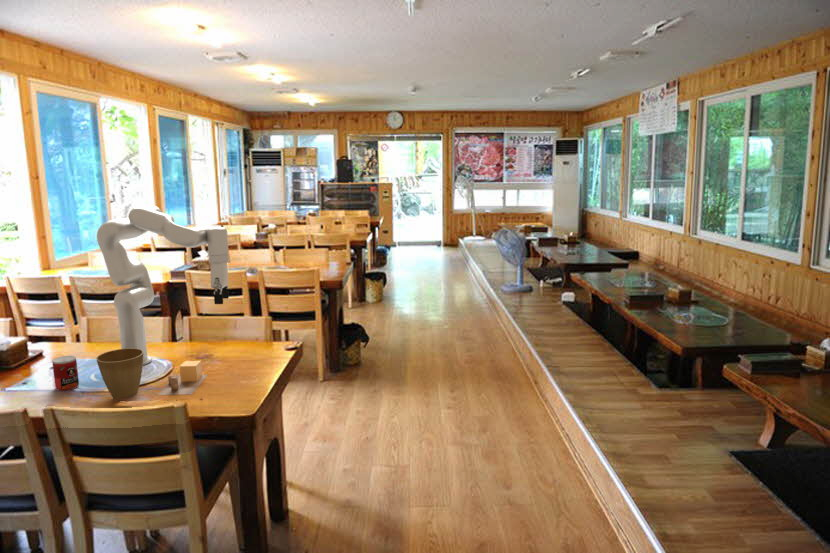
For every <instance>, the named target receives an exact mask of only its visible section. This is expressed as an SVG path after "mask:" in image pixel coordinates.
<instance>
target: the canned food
mask: <svg viewBox="0 0 830 553" xmlns="http://www.w3.org/2000/svg"><path fill="white" fill-rule="evenodd" d="M51 362H52V371H53V378H54V387H55V389H56V390H58V391H60V392H61V391H64V392H65V391H70V389H71V390H73V389H72V388H74V389H76V388H78V387H79V384H80V381H79V380H80V378H79V372H78V363H77V362H78V361H77V357H76V356H75V355H63V356H59V357H56V358H54V359H52V361H51ZM77 386H78V387H77ZM75 387H76V388H75Z"/></svg>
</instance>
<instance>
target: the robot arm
mask: <svg viewBox="0 0 830 553" xmlns="http://www.w3.org/2000/svg"><path fill="white" fill-rule="evenodd" d="M148 232H151V233H155V234H157V235H160V236H163V238H164V239H166V240H167V241H169V242H170V243H172V244H175V245H179V246H181V247H185V248H190V249H192V248H197V247H201V246H205V245H206V246H207V251H208V253H207V254H208V264H210V288H211V289H212V290H213V300H214V305H223V304H224V300H225V299H230V298H229V285H228V284H229V270H228V269H229V268H228V263H229V262H230V256H229V255H230V254H229V239H228V238H229V236H228V230H227V228H226V227H223V226H214V227H212V226H206V225H199V226H194V227H186V226H183V225H179V224H176V223H175V218H174V217H173V216H172V215H170V214H167V213H163V211H162V210H161V208H159V207H158V206H157V205H156V206H155V205H152V204H151V205H141V206H140V205H139V206H135V207H134V208H132V209H131V210H130V211H129V212H128V216H127V217H124V218H116V219H115V218H114V219H111V220H108V221H105V222H103V224H101V225H100V226H99V228H98V230H97V233H96V242H97V244H98V246H99V249H100V251H101V254H102V256H103V260H104V263H105V266H106V269H107V271H108V274H109V278H110V280H111V282H112V284H113V285H115V286H116V287H123V286H128V285H129V286H130V287H127V288H124V289H121V290H120V291H119V292H117V293H116V294H115V295H114V299H113V303H114V304H113V305H114V307H115V308H114V309H115V310H116V315H117V318H118V319H117V320H118V327H119V328H118V330H119V338H120V347H121V348H120V349H125V348H137V349H141V350H143V366H144V365H147V364H149V363H151V362H152V361H153V359H152V358H153V357H152V356H151V355H148V348H147V339H146V338H147V337H146V336H147V335H146V326H145V319H144V316H143V313H142V312H141V310H140V309H142V308H145V307H148V306H149V305H151V304H152V303H153V301H154V299H155V291H154V288H153V284H152V282H151V278H150V274H149V271H148V269H147V267H146V266H145V264H144V263H143V262H141V261H140V260H137V259H129V256H128V253H127V250H126V249H125V247H124V246H123V244H121V243H120V241H124V240H130V239H135V238H137V237H140V236H141V235H143V234H145V233H148Z"/></svg>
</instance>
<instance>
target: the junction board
mask: <svg viewBox="0 0 830 553" xmlns="http://www.w3.org/2000/svg"><path fill="white" fill-rule="evenodd" d="M207 377H208V374H202V376H201V377H200V379H199V380H198V381H185V382H181V376H180V374H178V375H177V374H176V375H175V374H170V375H168V376H167V380H168V383H167V384H165V385H166V386H164V387H163V388H162V389H161V390H160V392H158V394H157V396H179V395H180V396H182V395H184V396H185V395H193V393H194V392H195V391H196V390H197V389H198V387H199V386H200V385H201V384H202V382H204V381H205V379H206V378H207Z"/></svg>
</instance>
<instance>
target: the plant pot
mask: <svg viewBox="0 0 830 553" xmlns="http://www.w3.org/2000/svg"><path fill="white" fill-rule="evenodd" d="M95 359H96V360H95V361H96V362H97V365H98V366H97V367H98V369H99V371H100V372H99V373H100V375H101V377H102V381H103V382H104V384H105V387H106V389H107V390H108V392H109V394H110V395H111V397H112V399H113V400H114V401H117V402H125V401H127V399H126V400H123V398H129V397H132V396H135V395H136V394H137V393H138V392H139V389H140V384H141V378H142V373H143V366H144V365H143V350H141V349H137V348H125V349H121V348H118V349H113V350H110V351H106V352H103V353H100V354H99V355H98V356H96V358H95ZM117 399H119V400H117ZM120 399H121V400H120Z"/></svg>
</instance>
